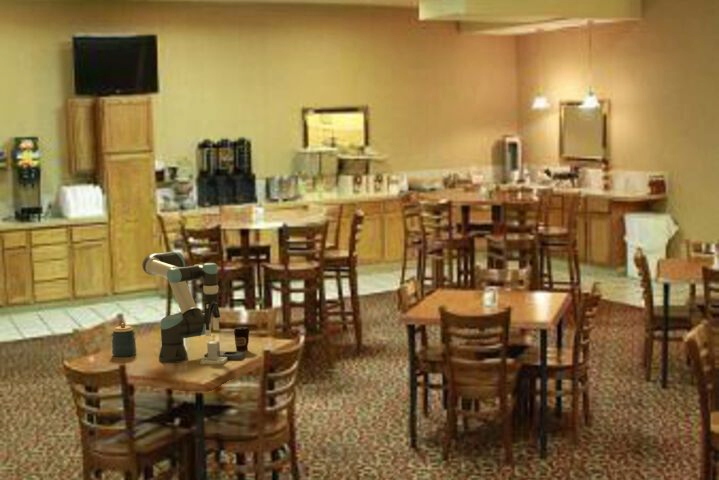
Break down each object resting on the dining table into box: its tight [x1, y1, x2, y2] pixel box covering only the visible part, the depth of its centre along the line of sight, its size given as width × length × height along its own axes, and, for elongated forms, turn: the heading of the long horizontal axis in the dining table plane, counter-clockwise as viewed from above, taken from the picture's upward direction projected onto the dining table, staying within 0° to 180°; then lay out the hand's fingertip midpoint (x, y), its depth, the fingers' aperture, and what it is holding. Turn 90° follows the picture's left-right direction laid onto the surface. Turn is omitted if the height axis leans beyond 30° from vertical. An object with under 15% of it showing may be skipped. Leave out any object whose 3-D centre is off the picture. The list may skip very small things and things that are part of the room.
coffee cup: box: [233, 326, 250, 353], centre depth 551 cm, size 9×8×13 cm
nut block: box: [206, 340, 221, 361], centre depth 527 cm, size 5×5×10 cm
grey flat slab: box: [203, 350, 246, 361], centre depth 537 cm, size 20×9×2 cm, turn 81°
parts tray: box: [199, 357, 229, 365], centre depth 528 cm, size 12×9×2 cm
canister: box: [110, 322, 137, 358], centre depth 550 cm, size 13×13×18 cm
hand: (212, 332), depth 527 cm, fingers open, 13 cm apart
